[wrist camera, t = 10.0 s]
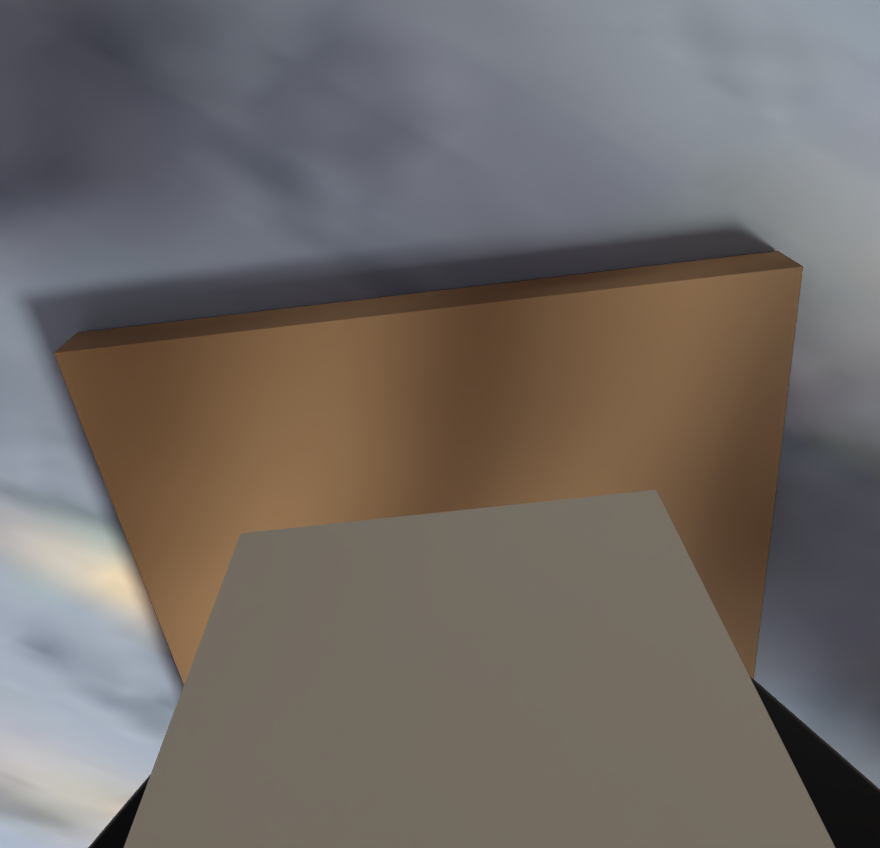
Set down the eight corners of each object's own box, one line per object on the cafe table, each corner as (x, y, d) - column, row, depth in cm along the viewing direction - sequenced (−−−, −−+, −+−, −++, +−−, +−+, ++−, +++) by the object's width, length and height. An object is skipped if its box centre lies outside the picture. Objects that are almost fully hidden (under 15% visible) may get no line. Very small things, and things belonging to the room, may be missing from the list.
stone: (655, 490, 7) (891, 962, 3) (648, 767, 9) (796, 1257, 5) (240, 533, 7) (56, 1026, 4) (319, 796, 9) (250, 1292, 5)
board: (777, 250, 13) (803, 266, 12) (727, 737, 19) (742, 771, 18) (77, 332, 14) (53, 352, 13) (243, 780, 20) (235, 816, 19)
